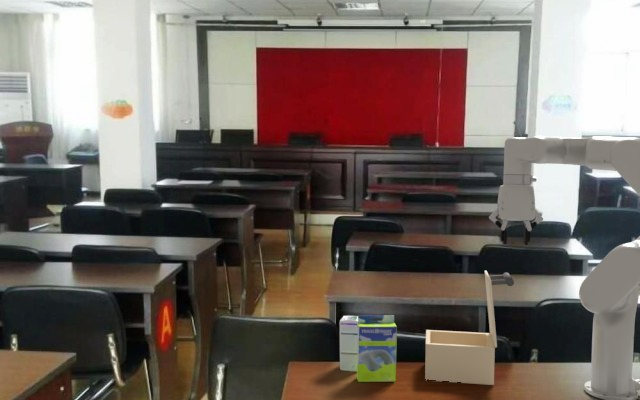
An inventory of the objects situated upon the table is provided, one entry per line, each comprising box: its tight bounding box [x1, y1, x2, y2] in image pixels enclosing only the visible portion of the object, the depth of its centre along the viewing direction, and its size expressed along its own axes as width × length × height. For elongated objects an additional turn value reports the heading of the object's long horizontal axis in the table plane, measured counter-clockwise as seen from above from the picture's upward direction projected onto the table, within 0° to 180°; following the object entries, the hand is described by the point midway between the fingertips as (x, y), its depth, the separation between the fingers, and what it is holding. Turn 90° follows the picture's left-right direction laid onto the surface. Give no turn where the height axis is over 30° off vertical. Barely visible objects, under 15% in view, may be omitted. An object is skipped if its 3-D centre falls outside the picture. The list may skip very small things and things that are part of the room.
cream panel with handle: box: [484, 270, 515, 348], centre depth 169 cm, size 18×14×7 cm
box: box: [356, 314, 398, 383], centre depth 167 cm, size 10×4×17 cm, turn 93°
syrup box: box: [339, 315, 359, 372], centre depth 176 cm, size 6×6×14 cm
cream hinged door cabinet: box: [424, 329, 496, 386], centre depth 172 cm, size 18×14×10 cm
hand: (515, 243), depth 177 cm, fingers open, 5 cm apart
